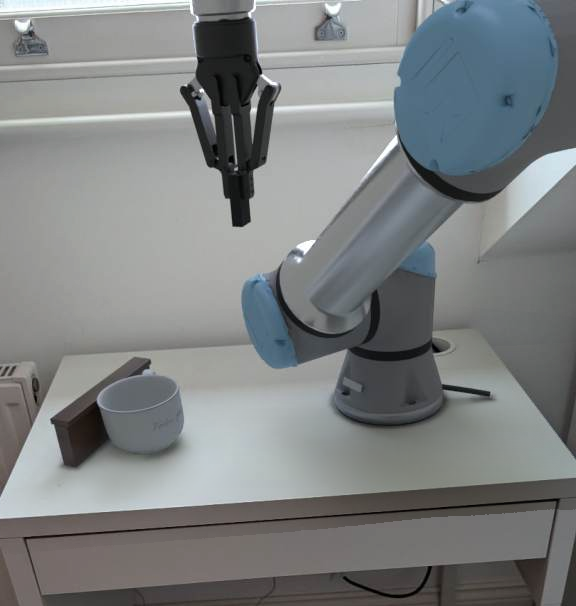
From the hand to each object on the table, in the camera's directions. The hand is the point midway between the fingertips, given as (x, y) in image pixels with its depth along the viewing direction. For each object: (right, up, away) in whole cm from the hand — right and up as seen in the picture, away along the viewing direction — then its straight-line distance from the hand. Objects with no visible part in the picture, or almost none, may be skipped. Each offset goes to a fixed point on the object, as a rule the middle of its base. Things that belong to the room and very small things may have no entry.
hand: (241, 224), depth 108 cm
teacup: (-13, -28, +4) cm, 31 cm away
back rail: (-18, -27, +6) cm, 33 cm away
